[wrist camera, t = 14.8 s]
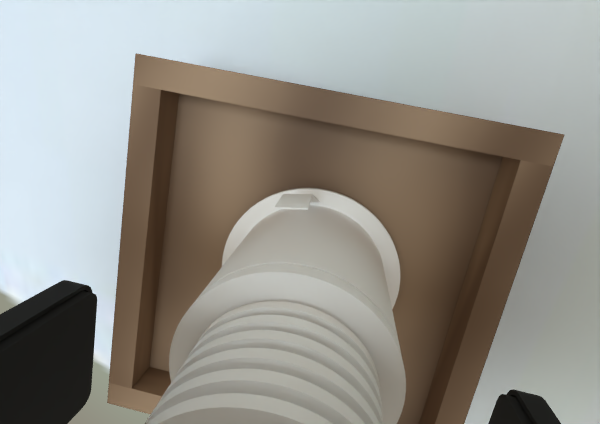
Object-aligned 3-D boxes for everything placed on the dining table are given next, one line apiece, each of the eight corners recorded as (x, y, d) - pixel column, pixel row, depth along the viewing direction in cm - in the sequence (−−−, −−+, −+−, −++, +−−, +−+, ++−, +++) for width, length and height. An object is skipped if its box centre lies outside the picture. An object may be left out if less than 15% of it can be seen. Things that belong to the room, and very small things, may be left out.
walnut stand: (498, 130, 17) (564, 135, 12) (417, 396, 21) (440, 490, 16) (197, 73, 18) (135, 53, 13) (166, 334, 22) (107, 403, 17)
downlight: (219, 172, 15) (-2, 289, 6) (405, 174, 14) (513, 316, 5) (230, 351, 17) (85, 656, 8) (393, 362, 17) (451, 719, 7)
